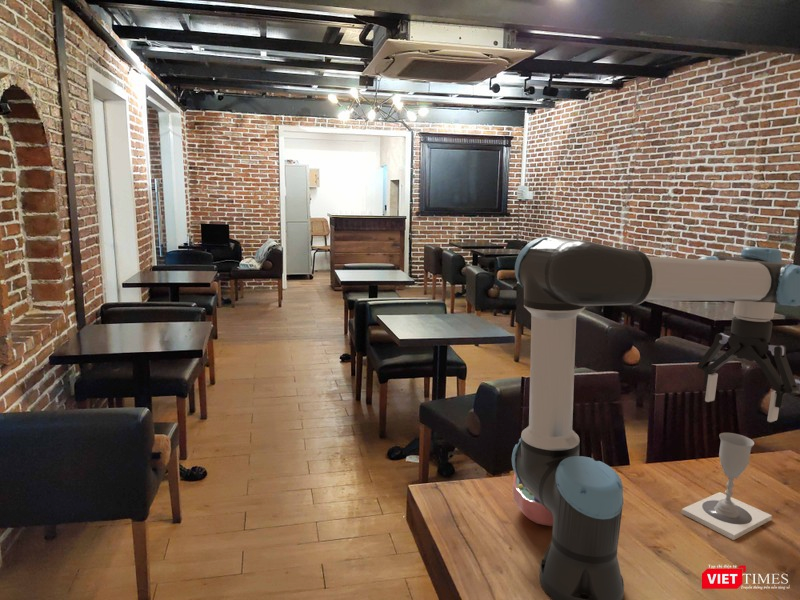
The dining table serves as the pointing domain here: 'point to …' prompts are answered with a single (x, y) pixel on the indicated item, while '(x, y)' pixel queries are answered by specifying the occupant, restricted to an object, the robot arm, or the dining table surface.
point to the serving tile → (726, 525)
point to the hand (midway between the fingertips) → (739, 410)
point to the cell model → (530, 504)
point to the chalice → (732, 467)
